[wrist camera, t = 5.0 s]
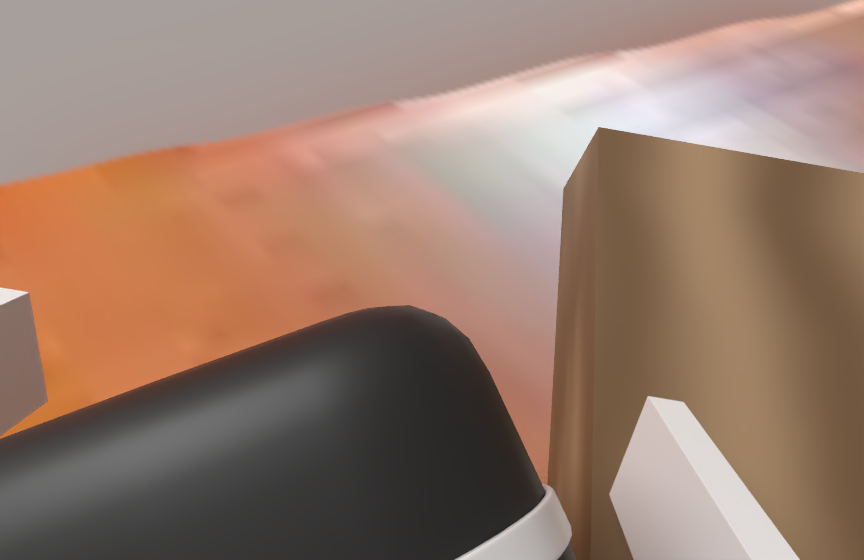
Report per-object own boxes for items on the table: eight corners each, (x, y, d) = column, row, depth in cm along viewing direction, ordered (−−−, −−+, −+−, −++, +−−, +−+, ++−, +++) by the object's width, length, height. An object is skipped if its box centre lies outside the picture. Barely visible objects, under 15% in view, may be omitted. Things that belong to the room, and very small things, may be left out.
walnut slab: (896, 253, 19) (1014, 199, 16) (1012, 677, 14) (1238, 750, 10) (560, 194, 19) (599, 127, 16) (537, 595, 14) (589, 636, 10)
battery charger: (421, 396, 15) (475, 207, 5) (470, 517, 14) (697, 632, 3) (200, 489, 14) (-445, 517, 3) (232, 634, 12) (-672, 1476, 2)
